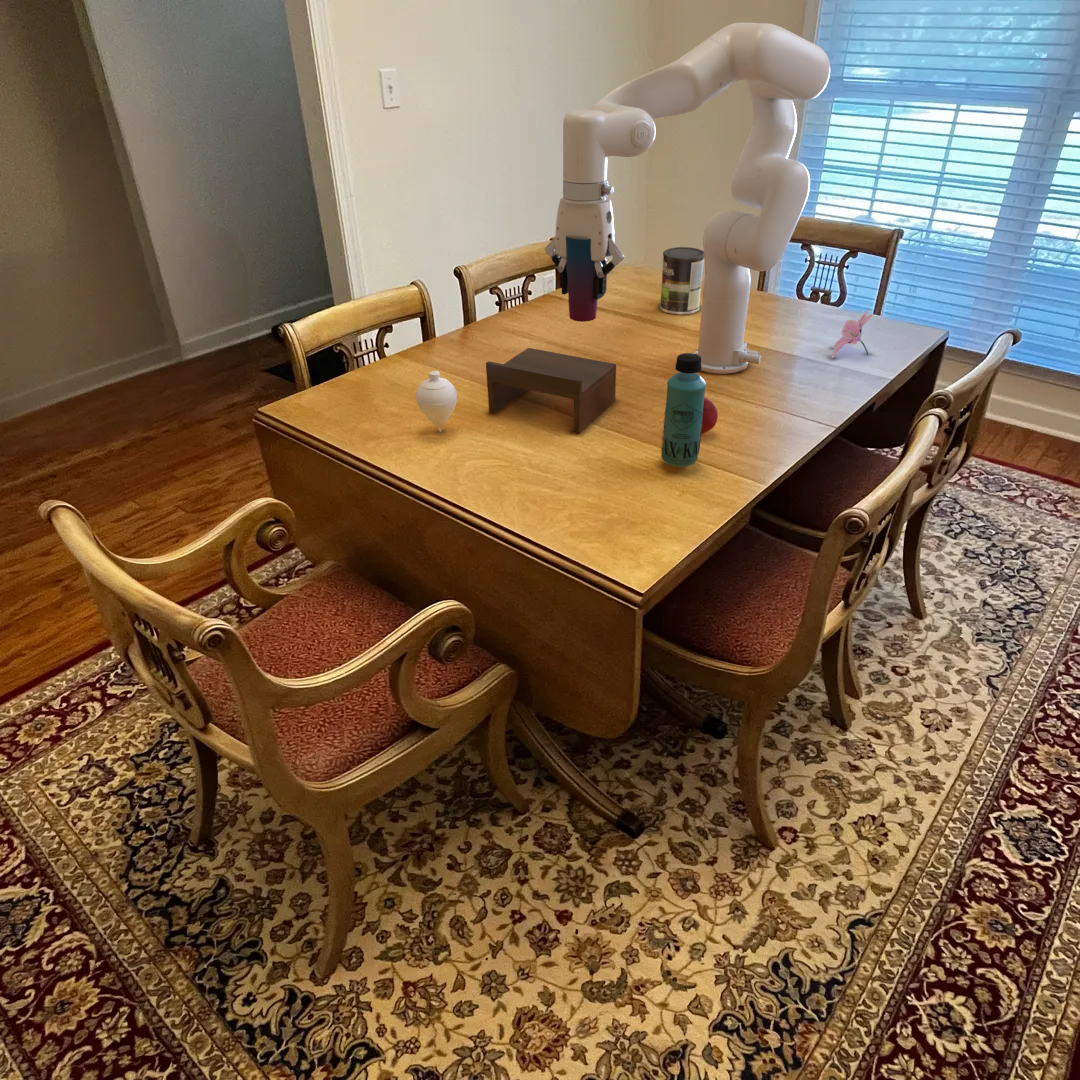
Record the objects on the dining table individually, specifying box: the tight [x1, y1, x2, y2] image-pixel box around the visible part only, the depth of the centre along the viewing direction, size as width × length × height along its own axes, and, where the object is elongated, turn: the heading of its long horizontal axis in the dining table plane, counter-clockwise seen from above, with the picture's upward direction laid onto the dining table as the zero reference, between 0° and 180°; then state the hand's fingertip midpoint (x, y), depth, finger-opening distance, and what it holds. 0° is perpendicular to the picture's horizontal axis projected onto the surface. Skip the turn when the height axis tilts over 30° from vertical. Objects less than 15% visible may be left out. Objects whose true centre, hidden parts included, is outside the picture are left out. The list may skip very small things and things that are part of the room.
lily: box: [831, 309, 874, 359], centre depth 176 cm, size 12×12×10 cm
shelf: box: [485, 347, 617, 435], centre depth 156 cm, size 16×20×10 cm
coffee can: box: [659, 246, 705, 316], centre depth 202 cm, size 10×10×14 cm
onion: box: [700, 395, 719, 436], centre depth 145 cm, size 6×6×8 cm
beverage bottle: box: [660, 352, 707, 468], centre depth 132 cm, size 6×7×20 cm
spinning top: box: [415, 370, 458, 433], centre depth 148 cm, size 8×8×12 cm
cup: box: [566, 236, 598, 323], centre depth 146 cm, size 7×7×15 cm
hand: (583, 294), depth 148 cm, fingers closed on cup, 6 cm apart
